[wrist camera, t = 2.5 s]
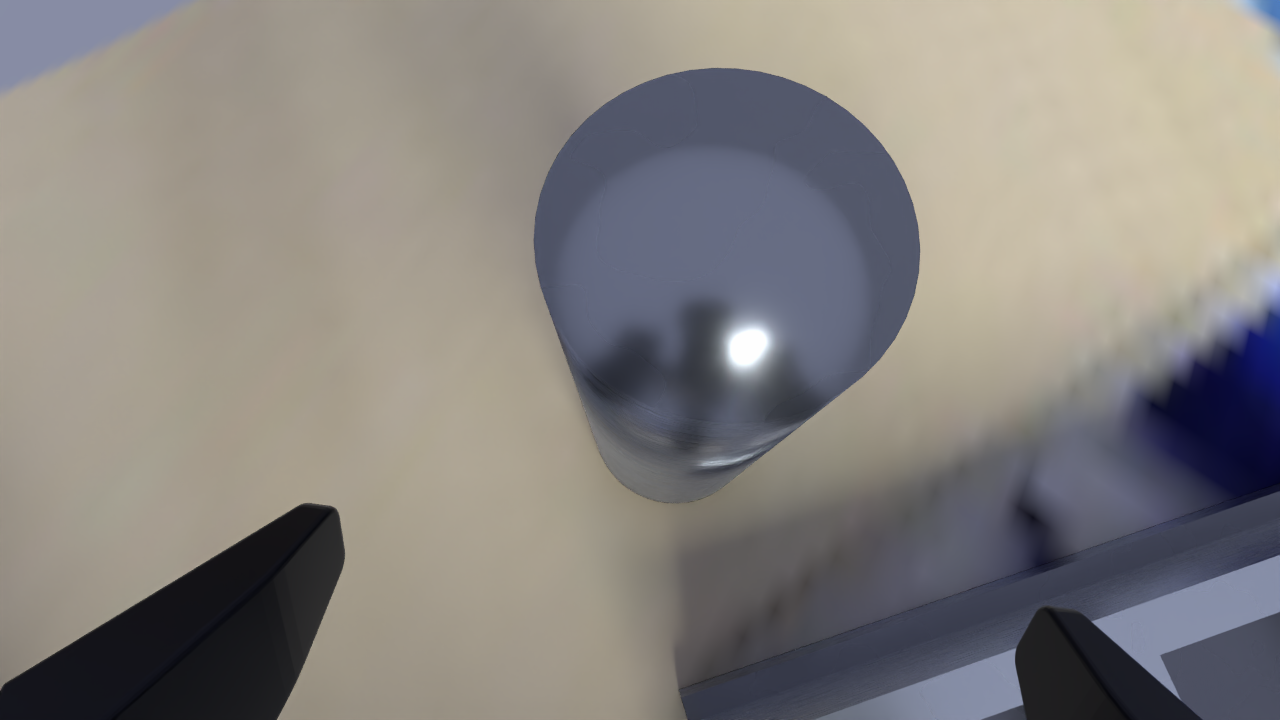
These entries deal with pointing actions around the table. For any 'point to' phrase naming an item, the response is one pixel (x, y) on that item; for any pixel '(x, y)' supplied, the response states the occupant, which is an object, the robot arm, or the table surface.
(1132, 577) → the gray divided tray
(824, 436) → the table surface
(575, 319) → the shiny gray cylinder
